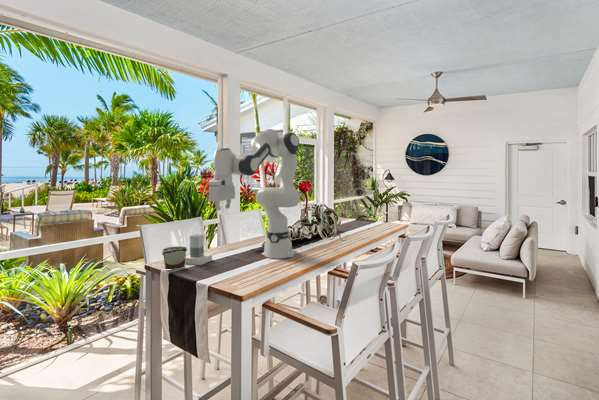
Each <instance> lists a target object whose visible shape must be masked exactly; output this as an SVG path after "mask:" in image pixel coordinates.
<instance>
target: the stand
mask: <svg viewBox="0 0 599 400" xmlns="http://www.w3.org/2000/svg"><path fill="white" fill-rule="evenodd" d="M212 260H213V254H211V253H204V255H203V256H201V257H199V258H198V257H190V254H188V255H186V258H185V263H187V264H186V265H195V266H196V265H198V266H202V265H204V264H206V263H209V262H211V261H212Z"/></svg>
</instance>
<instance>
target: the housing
mask: <svg viewBox="0 0 599 400" xmlns="http://www.w3.org/2000/svg"><path fill="white" fill-rule="evenodd" d="M204 237H205V236H204V234H191V235H189V255H190V257H198V258H199V257H201V256H203V255H204V254H205V250H204V248H205V247H204V246H205V245H204V243H205V242H204V241H205V239H204Z"/></svg>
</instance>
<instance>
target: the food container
mask: <svg viewBox="0 0 599 400" xmlns="http://www.w3.org/2000/svg"><path fill="white" fill-rule="evenodd" d="M187 252H188V249H187V247H186V246H170V247H165V248H163V249H162V252H161V255H162V256H163V263H164V268H165V269H174V270H176V269H175V268H179V269H182V268H181V267H184V268H185V267H186V264H185V258H186V256H187V255H186V254H187ZM165 269H164V270H165Z"/></svg>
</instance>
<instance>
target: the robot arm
mask: <svg viewBox="0 0 599 400" xmlns="http://www.w3.org/2000/svg"><path fill="white" fill-rule="evenodd" d="M299 147H300V138H299V137H298V135H297V134H295V132H287V133H285V134H282V135H279V134H278V132H277V131H276V130H275V129H272V128H267V129H265V130H263V131H260V132H259V133H257V135H255V136H254V137H253V138H252V139H251V141H250V149H251V151H252V152H253V153H252V154H247V155H237V154H235V153H234V152H232V149H230V148H227V147H224V148H218V149H216V150H215V151H214V153H213V169H214V172H213V178H211V179H210V180H208V186H209V188H208V198H209V201H210V202H212V203H213V202H214V206H215V210H216V211H217V212H218V211H219V212H220V211H221V210H222V209H221V208H222V206H221V205H220V204H221V202H223V201H226V204H225V206H224V207H225V209H230V208H231V203H232V200H234V199H236V188H235V187H236V186H235V185H234V183H233V176H234V175H239V176H254V175H256V173H257V172H258V169H259V167H260V166H261V164H262V163H263V162H264V161H265V159H267V157H268V156H270V157H271V158H279V162H278V165H277V168H276V171H275V173H274V181H275V182H276V184H277V185H279V187H276V186H275V187H272V186H271V187H270V186H267V187H262V188H259V189H258V191H257V192H256V196H255V197H256V201H257V204H259V206H261V208H262V209H263V210H264V212H265V214H266V218H267V231H266V239H265V240H264V248H263V251H262V252H261V255H262V256H264V257H265V258H268V259H269V258H270V259H285V258H294V256H295V254H296V252H295V251H296V249H293V243H292V241H291V240H290V238H289V234H290V230H288V217H287V216H286V215H285V214H284V213H282V212H281V209H280V208H294V207H297V206H298V205H299V203H300V200H301V195H300V192H299V190H297V189H296V188H295V186H294V179H295V175H296V171H297V168H298V157H297V155H296V154H297V153H298V150H299Z"/></svg>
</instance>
